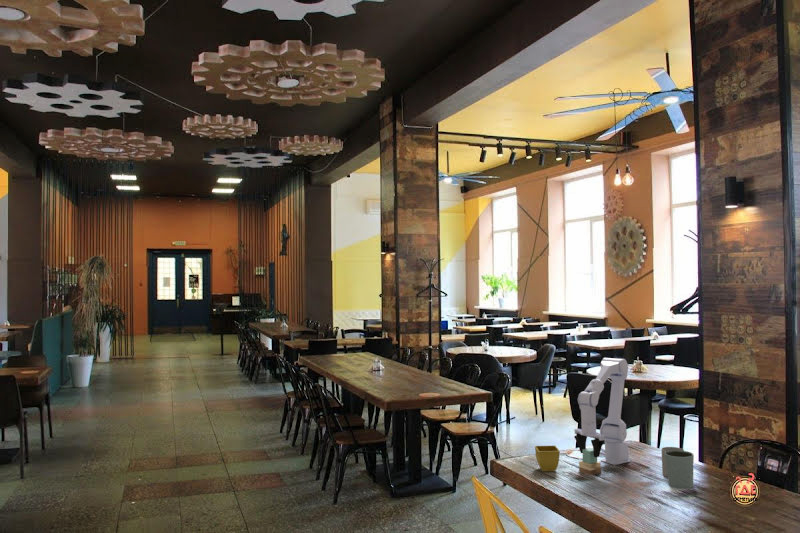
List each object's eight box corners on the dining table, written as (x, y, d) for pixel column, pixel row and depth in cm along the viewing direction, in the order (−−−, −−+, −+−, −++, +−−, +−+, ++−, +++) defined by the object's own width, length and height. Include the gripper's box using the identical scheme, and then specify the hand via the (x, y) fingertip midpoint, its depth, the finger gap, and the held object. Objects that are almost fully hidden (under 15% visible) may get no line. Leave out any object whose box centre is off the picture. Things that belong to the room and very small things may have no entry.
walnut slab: (589, 470, 273) (589, 464, 273) (600, 473, 268) (600, 468, 268) (579, 472, 270) (579, 467, 270) (589, 476, 265) (589, 470, 265)
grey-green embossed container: (697, 490, 243) (696, 457, 243) (668, 489, 245) (667, 456, 245) (691, 481, 253) (690, 450, 253) (663, 480, 255) (662, 449, 255)
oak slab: (589, 464, 273) (589, 459, 273) (600, 468, 268) (600, 462, 268) (579, 467, 270) (578, 461, 270) (590, 470, 265) (590, 464, 265)
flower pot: (560, 472, 269) (560, 450, 269) (539, 473, 269) (538, 451, 269) (556, 466, 278) (555, 445, 278) (535, 467, 278) (534, 445, 278)
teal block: (589, 459, 272) (589, 447, 272) (597, 462, 268) (596, 449, 268) (582, 461, 269) (582, 449, 270) (590, 463, 266) (589, 451, 266)
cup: (681, 471, 266) (680, 446, 266) (688, 478, 258) (687, 452, 258) (659, 471, 267) (658, 446, 267) (665, 477, 258) (664, 452, 259)
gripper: (568, 419, 274) (569, 452, 273) (594, 425, 261) (595, 460, 261) (581, 417, 277) (582, 449, 277) (607, 423, 264) (608, 457, 264)
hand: (589, 454), depth 269 cm, fingers open, 7 cm apart
